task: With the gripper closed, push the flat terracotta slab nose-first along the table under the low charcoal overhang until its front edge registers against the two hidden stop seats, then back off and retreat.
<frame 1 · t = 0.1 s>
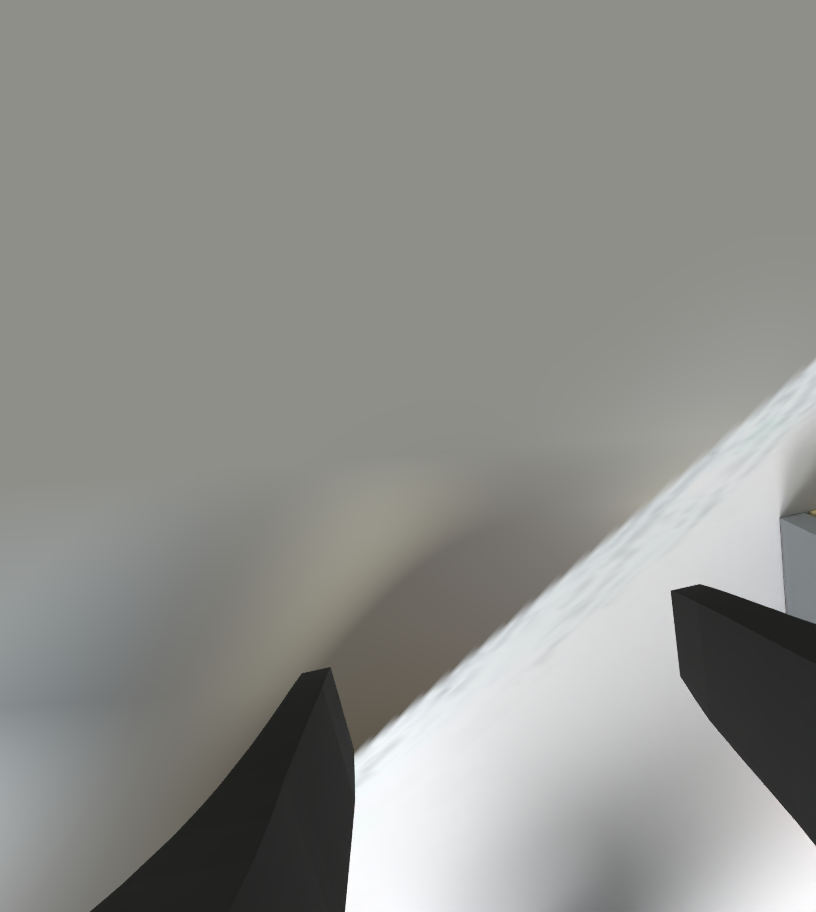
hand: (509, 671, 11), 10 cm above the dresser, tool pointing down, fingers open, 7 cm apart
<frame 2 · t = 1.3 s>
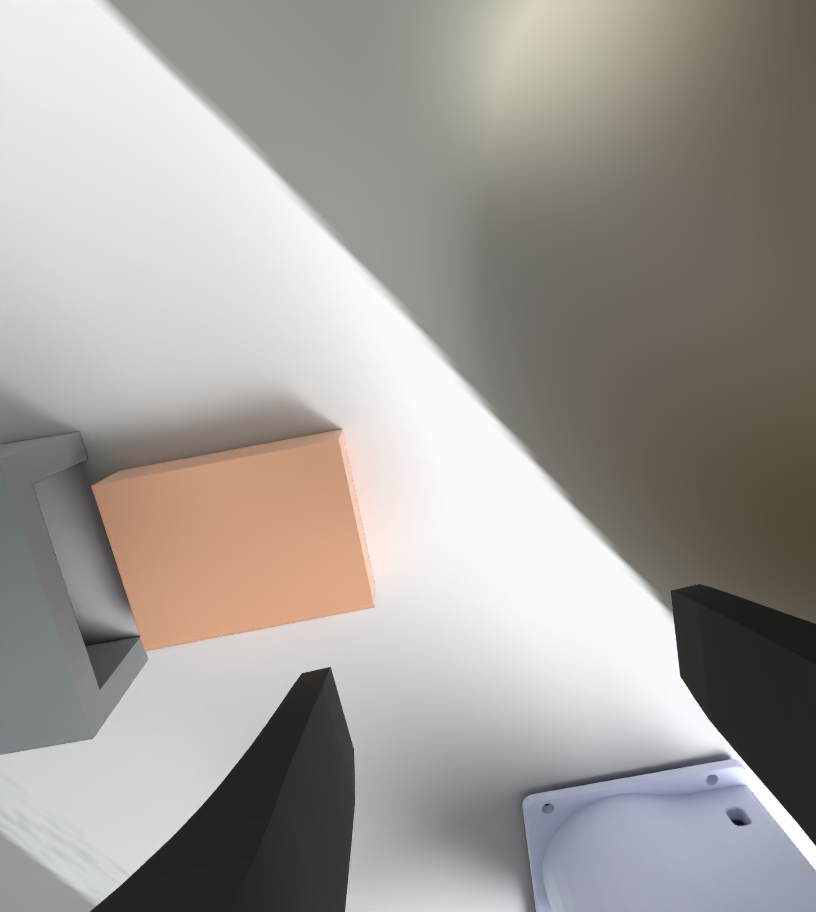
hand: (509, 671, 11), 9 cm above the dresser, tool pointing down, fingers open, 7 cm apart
slab: (254, 524, 21), on the dresser
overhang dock: (22, 566, 20), on the dresser
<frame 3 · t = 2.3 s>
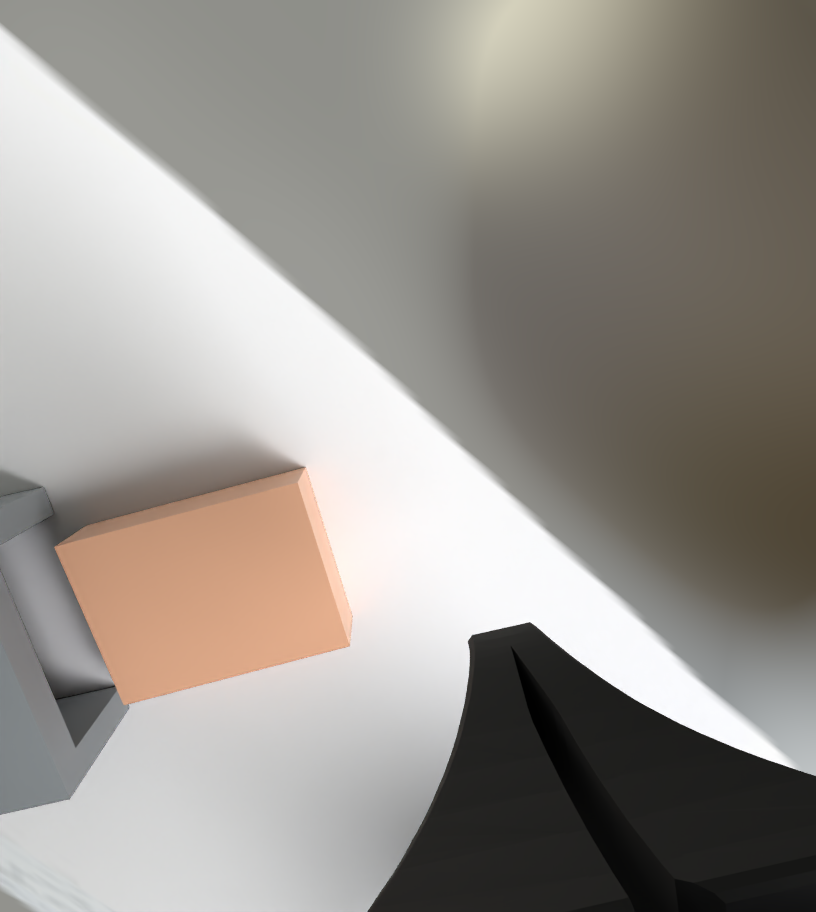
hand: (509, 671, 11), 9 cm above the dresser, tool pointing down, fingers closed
slab: (226, 567, 21), on the dresser
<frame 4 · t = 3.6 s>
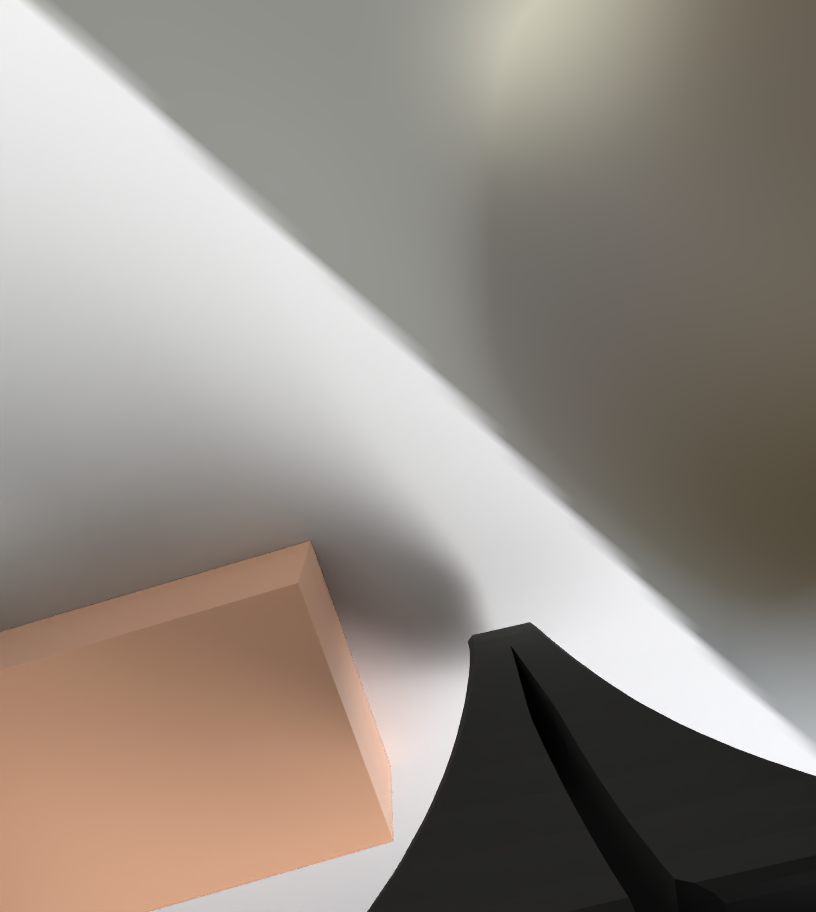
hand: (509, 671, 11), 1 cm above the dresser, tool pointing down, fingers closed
slab: (189, 697, 13), on the dresser
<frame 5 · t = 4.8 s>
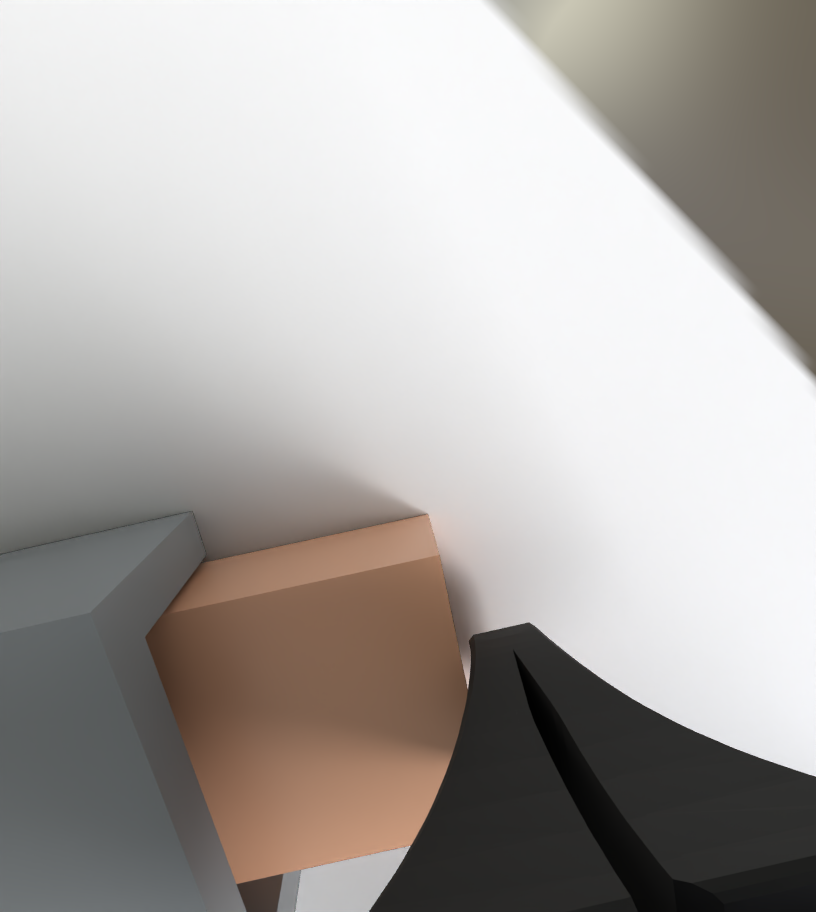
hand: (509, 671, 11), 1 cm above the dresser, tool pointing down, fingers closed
slab: (282, 668, 13), on the dresser, touching gripper
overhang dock: (105, 728, 13), on the dresser
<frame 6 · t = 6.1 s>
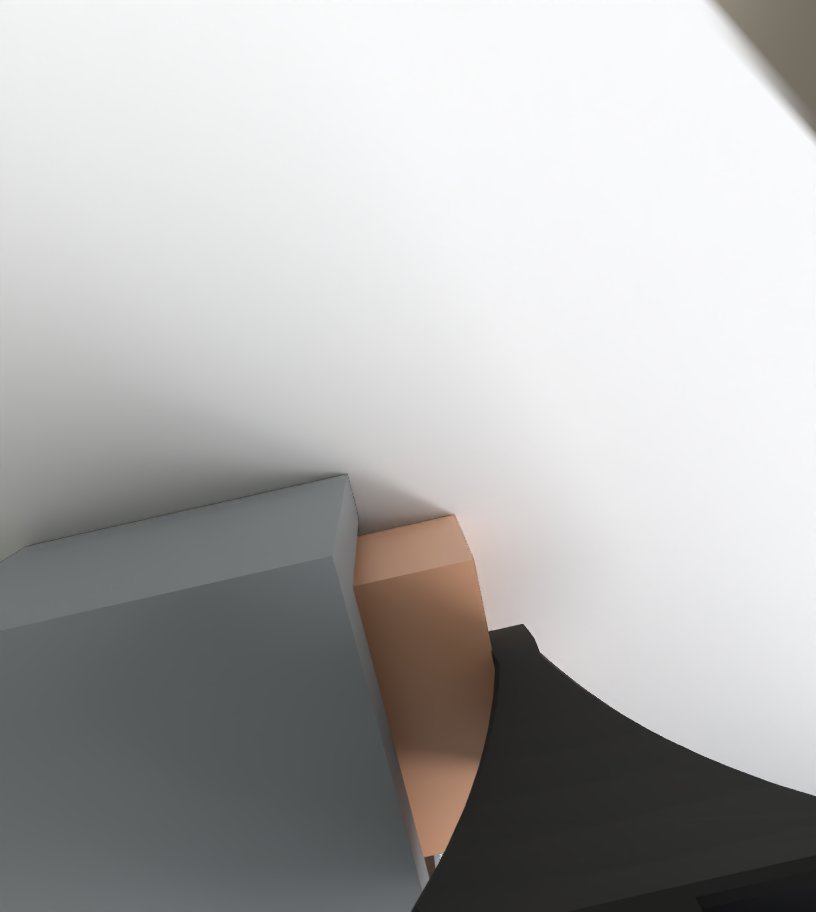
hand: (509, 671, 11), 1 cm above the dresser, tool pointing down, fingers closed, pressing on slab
slab: (307, 674, 13), on the dresser, touching gripper, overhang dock
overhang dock: (247, 694, 12), on the dresser
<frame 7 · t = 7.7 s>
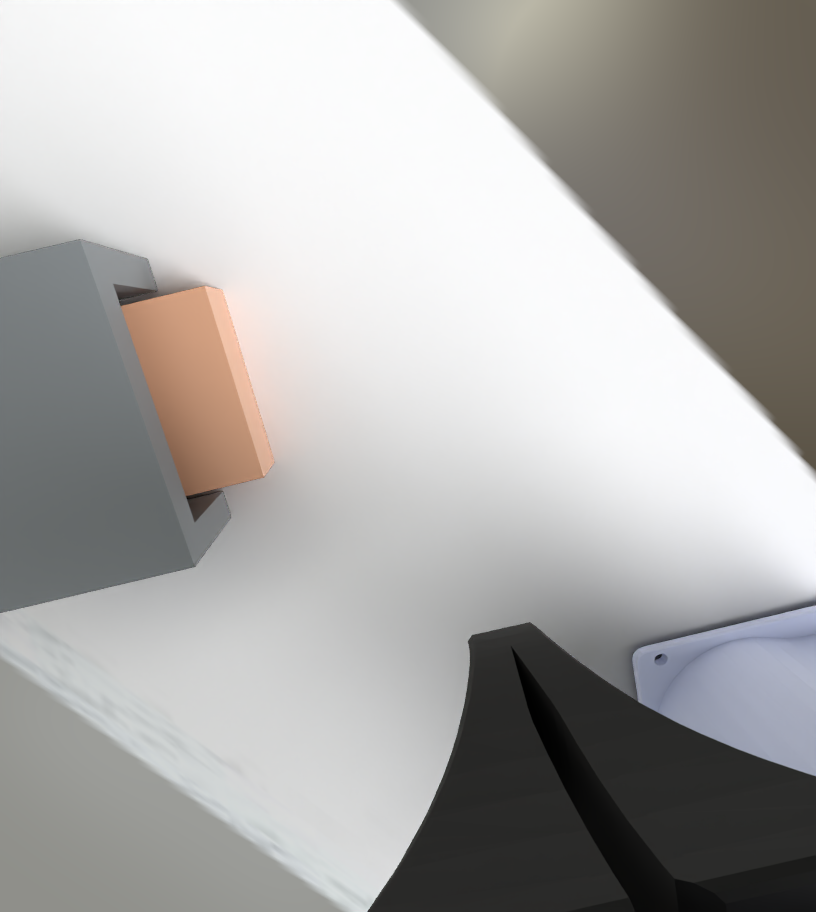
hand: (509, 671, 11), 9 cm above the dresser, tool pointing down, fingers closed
slab: (139, 405, 19), on the dresser
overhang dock: (94, 418, 19), on the dresser
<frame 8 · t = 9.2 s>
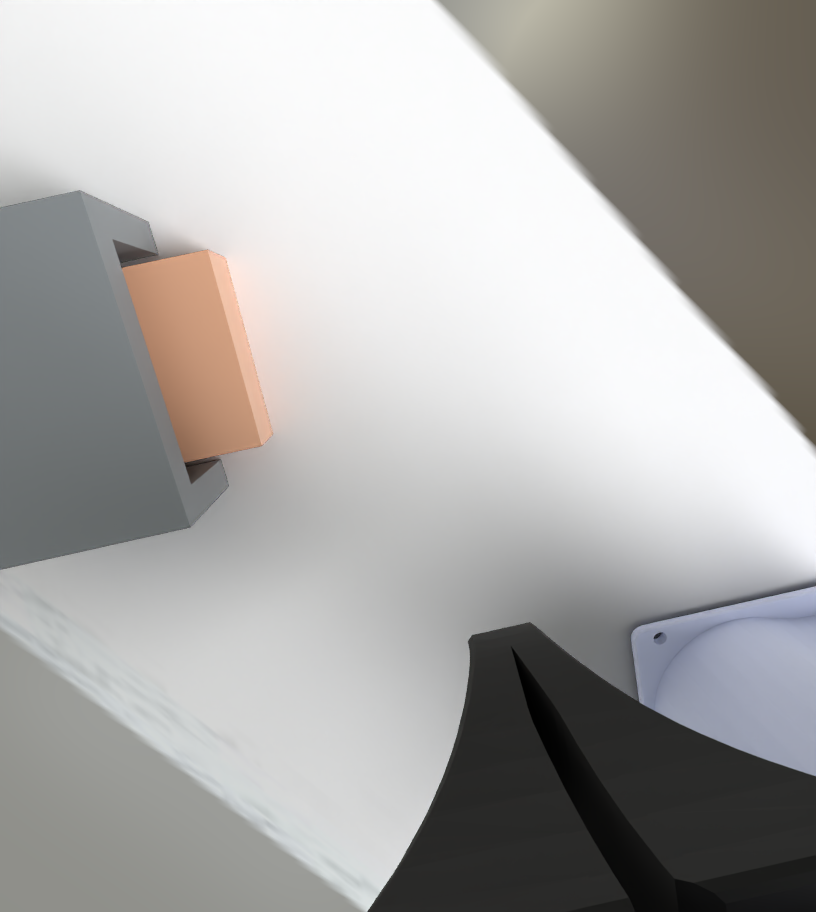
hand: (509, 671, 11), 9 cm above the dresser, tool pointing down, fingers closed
slab: (139, 372, 19), on the dresser
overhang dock: (92, 383, 19), on the dresser
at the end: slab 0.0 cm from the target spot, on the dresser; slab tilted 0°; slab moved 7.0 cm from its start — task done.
